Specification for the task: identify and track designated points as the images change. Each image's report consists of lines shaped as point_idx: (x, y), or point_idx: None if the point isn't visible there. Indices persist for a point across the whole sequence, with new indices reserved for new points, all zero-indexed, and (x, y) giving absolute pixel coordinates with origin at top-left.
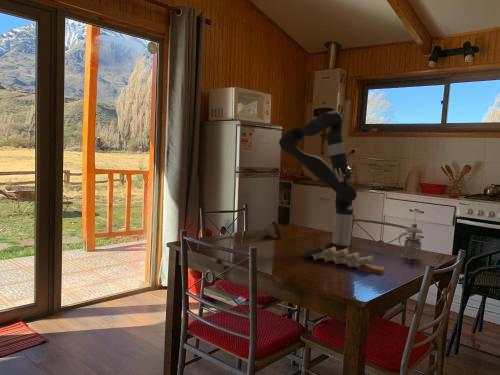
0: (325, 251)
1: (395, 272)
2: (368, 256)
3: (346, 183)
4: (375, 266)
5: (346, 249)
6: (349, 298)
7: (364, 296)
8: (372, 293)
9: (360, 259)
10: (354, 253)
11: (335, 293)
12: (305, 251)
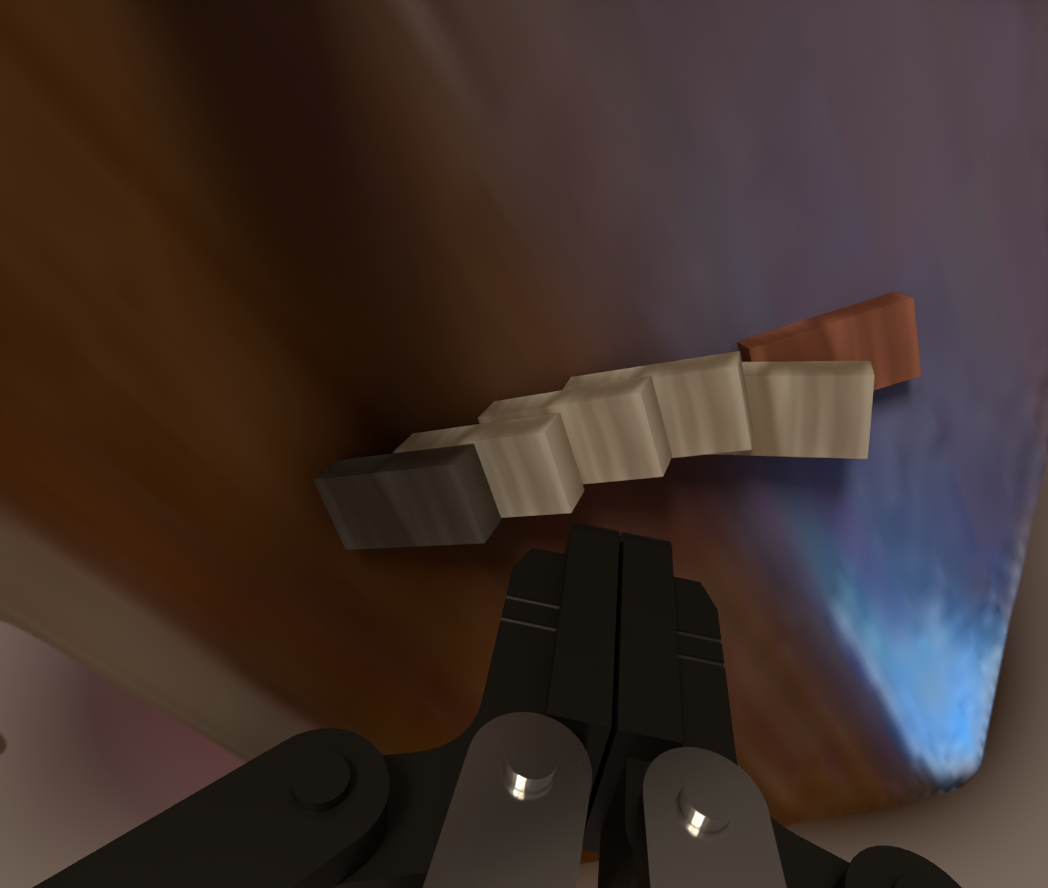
0: (522, 513)
1: (957, 224)
2: (842, 387)
3: (722, 719)
4: (857, 336)
5: (646, 403)
6: (914, 793)
7: (952, 729)
8: (967, 674)
9: (803, 456)
10: (717, 392)
11: (847, 800)
12: (328, 501)
